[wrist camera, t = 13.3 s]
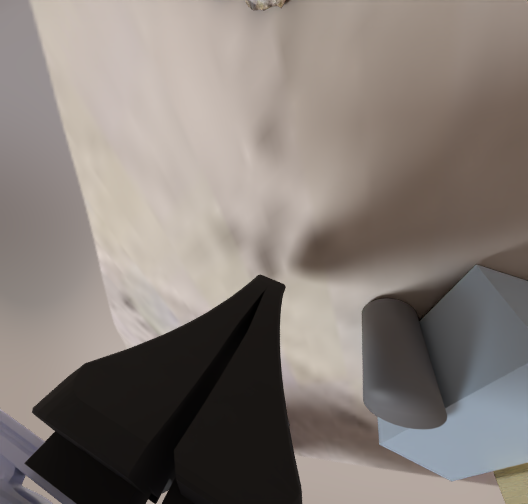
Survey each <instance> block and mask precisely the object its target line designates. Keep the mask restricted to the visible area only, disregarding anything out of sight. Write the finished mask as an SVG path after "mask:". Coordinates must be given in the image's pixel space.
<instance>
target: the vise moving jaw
mask: <svg viewBox="0 0 528 504" xmlns="http://www.w3.org/2000/svg"><path fill="white" fill-rule="evenodd" d="M362 357H363V401H364V404H365V406H366V407H367V408H368V409H369V410H370V411H371V412H372V413H373V414H374V415H376V416H377V417H378V432H379V445H381V446H383V447H385V448H387V449H389V450H391V451H393V452H395V453H397V454H399V455H401V456H403V457H405V458H407V459H409V460H411V461H413V462H415V463H417V464H418V465H420V466H422V467H424V468H426V469H428V470H430V471H432V472H434V473H436V474H438V475H440V476H442V477H444V478H446V479H448V480H450V481H455V480H459V479H463V478H467V477H471V476H475V475H479V474H483V473H487V472H491V471H495V470H499V469H503V468H507V467H511V466H515V465H519V464H524V463H528V281H526V280H523V279H520V278H517V277H514V276H511V275H507V274H504V273H501V272H498V271H495V270H492V269H489V268H486V267H483V266H479V265H475V266H474V267H473V268H472V269H471V270H470V271H469V272H468V273H467V274H466V275H465V276H464V277H463V278H462V279H461V280H460V281H459V282H458V283H457V284H456V285H455V286H454V287H453V288H452V289H451V290H450V291H449V292H448V293H447V294H446V295H445V296H444V297H443V298H442V299H441V300H440V301H439V302H438V303H437V304H436V305H435V306H434V307H433V308H432V309H431V310H430V311H429V312H428V313H427V314H426V315H425V316H424V317H423V318H422V319H421V320H420V321H419V319H418V316H417V313H416V311H415V310H414V309H413V308H412V307H411V306H410V305H408V304H407V303H405V302H403V301H400V300H396V299H388V298H385V299H377V300H374V301H372V302H370V303H368V304H367V305H366V306H365V307H364V308H363V310H362Z"/></svg>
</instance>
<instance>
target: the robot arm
mask: <svg viewBox="0 0 528 504" xmlns="http://www.w3.org/2000/svg"><path fill="white" fill-rule="evenodd" d="M285 288H286V287H285V285H284V284H282V283H280V282H277V281H275V280H272V279H270V278H268V277H265V276H263V275H258V276H257V277H256V278H254V279H253V280H252V281H251V282H250V283H249V284H247V285H246V286H245V287H244V288H242V289H241V290H240V291H238V292H237V293H236V294H234V295H233V296H232V297H230V298H229V299H227V300H226V301H224V302H223V303H221V304H220V305H218V306H217V307H215V308H213V309H212V310H210V311H209V312H207V313H205V314H203V315H202V316H200V317H198V318H196V319H194V320H193V321H191V322H189V323H187V324H185V325H183V326H181V327H179V328H177V329H175V330H172V331H170V332H168V333H166V334H164V335H161V336H159V337H157V338H154V339H152V340H149V341H147V342H144V343H142V344H139V345H137V346H134V347H132V348H129V349H126V350H124V351H121V352H118V353H115V354H112V355H109V356H106V357H103V358H100V359H97V360H94V361H91V362H88V363H85V364H84V365H83V366H81V367H80V368H79V369H77V370H76V371H75V372H73V373H72V374H71V375H70V376H68V377H67V378H66V379H65V380H64V381H63V382H62V383H60V384H59V385H58V386H57V387H56V388H55V389H54V390H52V391H51V392H50V393H49V394H48V395H47V396H46V397H45V398H43V399H42V400H41V401H40V402H39V403H38V404H37V405H36V406H34V407H33V411H32V413H33V414H34V415H36V416H37V417H38V418H39V419H41V420H42V421H43V422H44V423H46V424H47V425H48V426H49V427H51V428H52V429H53V430H55V432H54V433H53V434H52V435H51V436H50V437H49V438H48V439H47V440H46V441H44V440H43V439H41V438H40V437H38V436H37V435H36V434H34V433H33V432H32V431H30V430H29V429H27V428H26V427H25V426H23V425H22V424H20V423H19V422H18V421H16V420H15V419H14V418H12V417H11V416H9V415H8V414H7V413H5V412H4V411H3V410H1V409H0V504H53V503H52V502H51V501H49V500H48V499H47V498H45V497H44V496H42V495H40V494H38V493H36V492H34V491H32V490H30V489H28V488H25V487H23V486H22V482H23V480H24V478H25V475H26V476H28V477H29V478H30V479H31V480H33V481H34V482H35V483H36V484H38V485H39V486H40V487H42V488H43V489H44V490H45V491H47V492H48V493H49V494H50V495H52V496H53V497H54V498H56V499H57V500H58V501H59V502H61V503H62V504H146V502H147V500H148V499H149V500H150V501H152V502H153V503H155V504H156V503H157V501H158V499H159V497H160V495H161V494H162V493H164V492H166V491H168V492H167V494H166V496H165V498H164V500H163V502H162V504H302V491H301V484H300V479H299V474H298V470H297V465H296V461H295V455H294V450H293V445H292V440H291V434H290V429H289V426H290V425H289V423H288V417H287V410H286V403H285V396H284V389H283V381H282V371H281V358H280V313H281V304H282V298H283V293H284V290H285Z"/></svg>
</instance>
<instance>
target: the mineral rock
mask: <svg viewBox="0 0 528 504" xmlns="http://www.w3.org/2000/svg"><path fill="white" fill-rule="evenodd" d="M245 1H246V3H247V5H248V6H249V7H250V8H251V9H252V10H263V11H264V10H266V9H268V8H269V7H273V6H279V7H280V8H282V6H283V4H284V3H285V1H286V0H245Z"/></svg>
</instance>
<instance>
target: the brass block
mask: <svg viewBox="0 0 528 504" xmlns="http://www.w3.org/2000/svg"><path fill="white" fill-rule="evenodd" d="M493 472H494V475H495V477H496V480H497V482H498V485H499V488H500V490H501V493H502V496H503V498H504V501H505V503H506V504H528V463H524V464H519V465H515V466H511V467H507V468H503V469H499V470H495V471H493Z"/></svg>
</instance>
